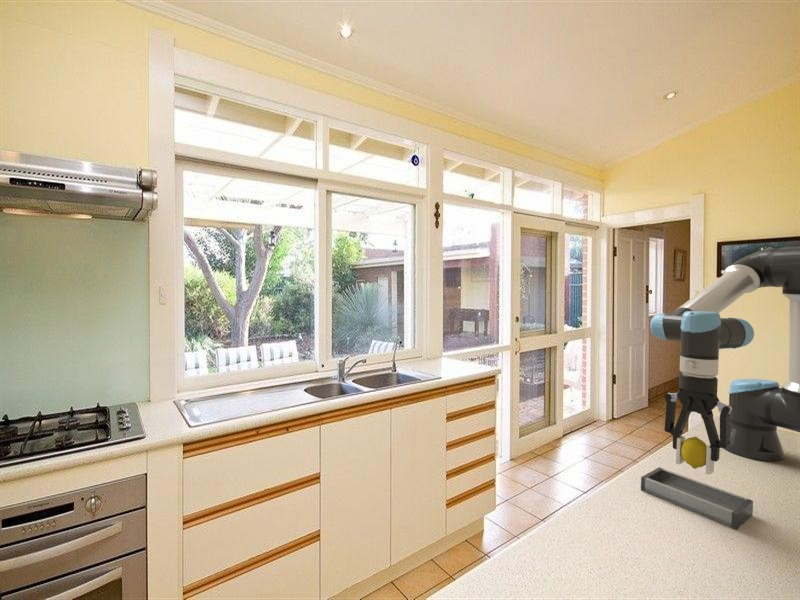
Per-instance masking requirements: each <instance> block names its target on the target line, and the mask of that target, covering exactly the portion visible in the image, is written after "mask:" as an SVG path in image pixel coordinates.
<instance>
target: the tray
mask: <svg viewBox="0 0 800 600" xmlns="http://www.w3.org/2000/svg"><path fill="white" fill-rule="evenodd" d="M640 491H642V492H644V493H647V494H649V495H651V496H654V497H656V498H659V499H661V500H664V501H666V502H669V503H671V504H673V505H676V506H678V507H680V508H683V509H685V510H688V511H689V512H693V513H695V514H697V515H700V516H702V517H704V518H707V519H709V520H712V521H713V522H717V523H719V524H721V525H723V526H726V527H728V528H731V529H732V530H736V531H738V530H739V529H740V528H741V527H742V526H743V525H744V524H745V523H746V522H747V521H749V519H751V517H752V516H753V513H754V500H753V499H749V498H746V497H743V496H741V495H738V494H735V493H733V492H730V491H727V490H724V489H721V488H718V487H716V486H713V485H711V484H708V483H706V482H705V483H704V482H701V481H699V480H697V479H693V478H690V477H689V476H688V477H687V476H685V475H682V474H679V473H677V472H673V471H672V470H668V469H665V468H662V467H656V468H654V470H652V471H650V472H648V473H646V474H645V475H642V476H641V477H640Z"/></svg>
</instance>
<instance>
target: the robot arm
mask: <svg viewBox="0 0 800 600" xmlns="http://www.w3.org/2000/svg"><path fill="white" fill-rule="evenodd" d="M769 287H770V288H773V287H774V288H781V290H782V295H783V296H784V297H786V298H787V300H789V313H788V314H789V317H788V318H789V325H788V326H789V327H788V330H789V332H788V333H789V337H788V338H789V339H788V340H789V341H788V346H789V347H788V349H789V350H788V351H789V353H788V358H789V359H788V361H789V362H788V363H789V364H788V365H789V366H788V380H787V381H785V382H784V383H783V384H781V385H780V384H779V382H778V381H775V380H772V379H758V378H739V379H734V380H732V381H731V382H730V386H729V391H728V395H729V397H728V404H725V403H723V402H721V401H720V398H718V382H719V380H718V378H717V376H718V375H719V355H720V353H719V352H720V350H722V349H723V350H726V349H739V348H741V347H746V346H748V345H749V344H750V343H752V341H753V339H754V337H755V330H754V327H753V326H752V325H751V323H750V322H748V321H747V320H745V319H743V318H737V317H727V318H724V317H721V315H720V313H721V312H722V311H724V310H725V309H726V308H728V307H729V306H731V305H732V304H733V303H734V302H735V301H736V300H738V299H739V298H740V297H742V296H743V295H745V294H749V293H752V292H755V291H756V290H757V289H760V288H769ZM649 327H650V332H651V334H652V335H653V337H655V338H657V339H659V340H665V341H667V342H680V355H679V372H681V373H679V375H678V379H679V380H678V391H677V392H675V393H674V392H668V393H666V394H664V399H665V402H666V407H665V418H664V431H665V432H666V433H669V434H670V435H671V436H672V448H673V450H676V452H675V453H676V455H675V456H676V457H675V464H676V465H681V464H683V463H684V462H685V461H684V459H683V457H682V454H681V449H682V444H683V442H684V441H685V440H686V437H685V436H683V434H684V433H683V431H684V429H685V427H686V425H687V422H688V419H689V417H690V415H691V413H697V414H700V417H701V419H702V421H703V424H704V427H705V431H706V434H707V438H708V441H709V444H708V445H707V449H706V465H705V474H706V475H708V476H709V475H712V474H713V473H714V472H715V463H716V462H718V461H719V460H720V450H721V449H724V450H725V451H727V452H730V453H732V454H735V455H737V456H741V457H744V458H748V459H753V460H758V461H766V462H778V461H782V460H783V459H784V449H783V446H782V443H781V440H780V437H779V434H778V432H777V431H778V430H777V429H778V428H783V429H786V430H790V431H793V432H797V433H800V246H790V247H772V248H766V249H761V250H759V251H756V252H753V253H751V254H749V255H746V256H744V257H742V258H740V259H738V260H737V261H735V262H734V263H731V265H729V266H728V267H726V268H725V269H724V270H723V273H722V275H721V276H720V277H718V278H717V279H715V281H713V282H712V283H711V284H709V285H708V286H706V287H705V288H704V289H702V290H701V291H699V292H698V293H697V294H695V295H694V296H693V297H691V298H689V299H688V300H687V301H686V302H685V303H683V304H682V305H680V306H679V307H678V308H676V309H675V310H673V311H672V312H671V313H667V312H664V313H657V314H655V315H654V316H652V318H651V320H650V323H649ZM780 386H781V387H780ZM678 400H679V402H680V403H681V404H682V407H681V409H680V414H679V416H678V418H677V421H676V422H675V419H676V410H677V409H676V408H677V407H676V406H677V401H678ZM716 407H717V409H718V410H717V411H718V412H719V434H718V431H717V427H716V426H717V425H716V423H715V420H714V413H713V410H714V409H715V408H716Z"/></svg>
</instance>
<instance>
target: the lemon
mask: <svg viewBox="0 0 800 600" xmlns="http://www.w3.org/2000/svg"><path fill="white" fill-rule="evenodd" d="M707 446H708V445H707V444H706V442H705V441H704V440H702V439H701V438H699V437H698V436H693V437H688V438H685V441H684V442H683V444H682V449H681V454H682V457H683V459H684V462H685V463H686V464H687V465H689V466H690V467H691V468H692V469H694V470H697V469H698V468H703V467H706V449H707Z"/></svg>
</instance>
